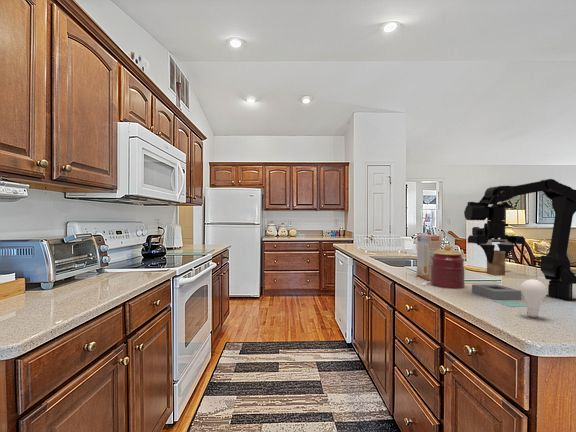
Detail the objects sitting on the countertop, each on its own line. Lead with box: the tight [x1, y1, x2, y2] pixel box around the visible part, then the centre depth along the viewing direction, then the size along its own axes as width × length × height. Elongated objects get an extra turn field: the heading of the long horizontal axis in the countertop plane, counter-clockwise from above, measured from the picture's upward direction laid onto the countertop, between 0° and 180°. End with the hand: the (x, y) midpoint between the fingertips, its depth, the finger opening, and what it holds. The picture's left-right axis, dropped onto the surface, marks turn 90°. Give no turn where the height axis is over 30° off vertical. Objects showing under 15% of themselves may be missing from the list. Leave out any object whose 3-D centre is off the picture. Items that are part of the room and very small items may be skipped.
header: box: [471, 283, 522, 301], centre depth 120 cm, size 10×12×4 cm
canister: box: [430, 244, 466, 290], centre depth 139 cm, size 13×13×18 cm
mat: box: [493, 300, 527, 308], centre depth 109 cm, size 7×7×1 cm
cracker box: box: [416, 233, 442, 282], centre depth 158 cm, size 14×6×21 cm, turn 179°
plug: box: [486, 249, 506, 277], centre depth 120 cm, size 4×4×9 cm
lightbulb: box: [519, 278, 548, 318], centre depth 96 cm, size 6×6×11 cm
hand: (495, 263), depth 120 cm, fingers closed on plug, 4 cm apart
